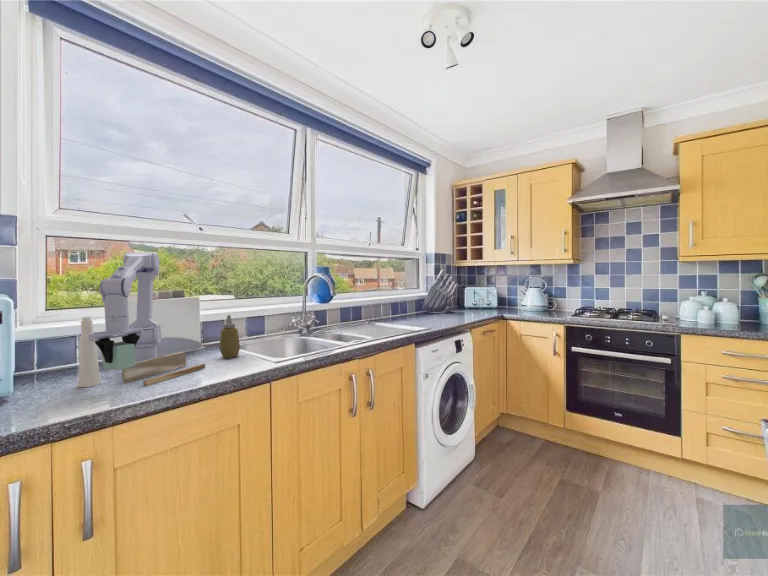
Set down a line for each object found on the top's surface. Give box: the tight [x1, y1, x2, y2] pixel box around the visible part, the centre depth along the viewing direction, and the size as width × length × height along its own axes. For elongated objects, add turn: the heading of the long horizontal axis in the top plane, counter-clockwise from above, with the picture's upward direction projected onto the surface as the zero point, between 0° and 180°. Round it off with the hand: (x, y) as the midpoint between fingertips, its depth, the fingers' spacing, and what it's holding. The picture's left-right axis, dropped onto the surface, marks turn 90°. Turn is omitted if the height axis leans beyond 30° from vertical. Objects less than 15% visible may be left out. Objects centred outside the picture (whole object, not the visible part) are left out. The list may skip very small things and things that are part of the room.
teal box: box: [102, 340, 135, 371], centre depth 105 cm, size 7×5×8 cm
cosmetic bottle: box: [76, 316, 103, 388], centre depth 109 cm, size 6×6×22 cm
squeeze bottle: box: [219, 314, 241, 359], centre depth 145 cm, size 8×8×18 cm
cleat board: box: [121, 351, 206, 387], centre depth 120 cm, size 12×22×6 cm, turn 160°
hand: (119, 360), depth 105 cm, fingers closed on teal box, 5 cm apart
